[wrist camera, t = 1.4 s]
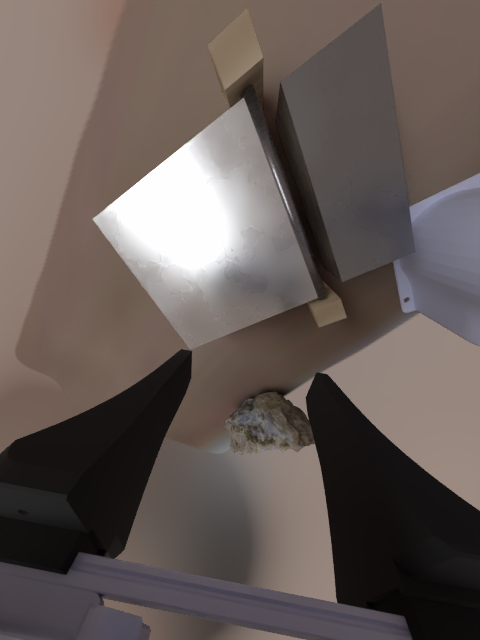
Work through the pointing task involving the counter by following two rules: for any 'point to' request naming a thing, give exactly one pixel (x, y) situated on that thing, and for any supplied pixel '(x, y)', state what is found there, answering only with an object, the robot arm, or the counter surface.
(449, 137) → the counter surface
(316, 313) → the frame
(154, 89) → the counter surface
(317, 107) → the trapdoor
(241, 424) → the rock
